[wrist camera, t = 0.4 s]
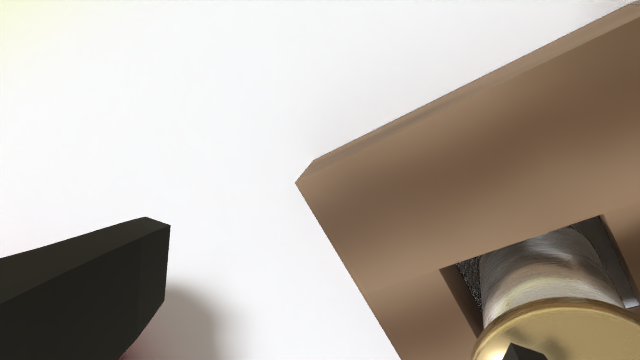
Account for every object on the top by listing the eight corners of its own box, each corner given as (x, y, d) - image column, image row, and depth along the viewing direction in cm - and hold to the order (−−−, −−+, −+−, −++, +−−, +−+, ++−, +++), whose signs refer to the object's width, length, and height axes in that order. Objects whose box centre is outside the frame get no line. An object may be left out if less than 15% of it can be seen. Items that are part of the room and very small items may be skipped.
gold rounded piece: (635, 303, 18) (720, 452, 12) (499, 339, 20) (515, 479, 14) (582, 186, 17) (647, 289, 11) (444, 237, 19) (438, 345, 13)
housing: (781, 389, 18) (827, 447, 16) (477, 441, 23) (480, 491, 20) (629, 3, 15) (660, 6, 12) (313, 160, 19) (294, 182, 17)
